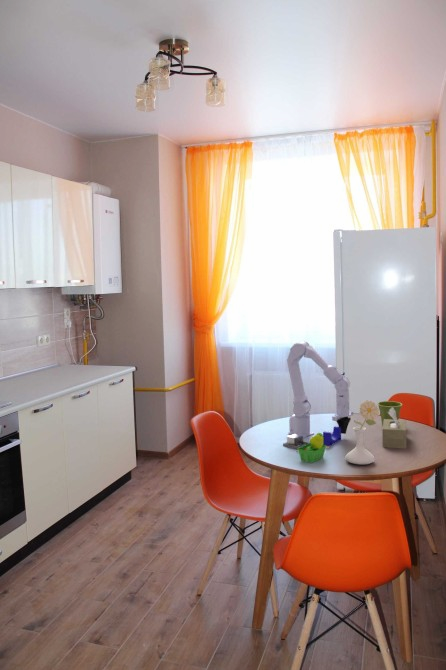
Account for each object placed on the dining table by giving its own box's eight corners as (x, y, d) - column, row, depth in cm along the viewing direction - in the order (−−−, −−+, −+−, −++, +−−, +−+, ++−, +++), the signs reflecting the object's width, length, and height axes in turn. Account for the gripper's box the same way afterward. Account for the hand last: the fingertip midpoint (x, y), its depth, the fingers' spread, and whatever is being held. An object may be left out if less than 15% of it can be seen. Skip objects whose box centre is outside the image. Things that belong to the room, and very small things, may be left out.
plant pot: (372, 425, 273) (372, 402, 272) (390, 421, 278) (390, 400, 277) (388, 430, 262) (388, 407, 261) (407, 427, 267) (407, 404, 266)
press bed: (278, 447, 240) (278, 445, 240) (299, 439, 251) (299, 437, 251) (309, 455, 228) (309, 452, 228) (330, 446, 239) (330, 444, 239)
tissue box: (383, 435, 254) (383, 402, 253) (406, 437, 251) (406, 403, 250) (382, 447, 236) (382, 411, 235) (406, 449, 233) (406, 412, 232)
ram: (287, 445, 243) (287, 436, 242) (295, 442, 247) (295, 433, 246) (295, 447, 239) (295, 438, 239) (303, 444, 244) (303, 435, 243)
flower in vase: (345, 466, 213) (345, 403, 210) (344, 457, 224) (344, 397, 222) (380, 467, 210) (380, 403, 208) (377, 458, 221) (377, 397, 219)
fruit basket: (311, 453, 230) (310, 427, 229) (330, 457, 224) (329, 430, 223) (296, 461, 221) (296, 433, 220) (316, 465, 216) (315, 437, 215)
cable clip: (332, 438, 251) (332, 425, 251) (341, 440, 249) (341, 427, 248) (320, 444, 242) (319, 431, 241) (329, 446, 239) (329, 432, 239)
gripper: (341, 408, 243) (341, 438, 244) (359, 402, 253) (359, 431, 254) (328, 406, 248) (328, 435, 249) (345, 400, 258) (346, 428, 259)
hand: (343, 433), depth 252 cm, fingers closed
